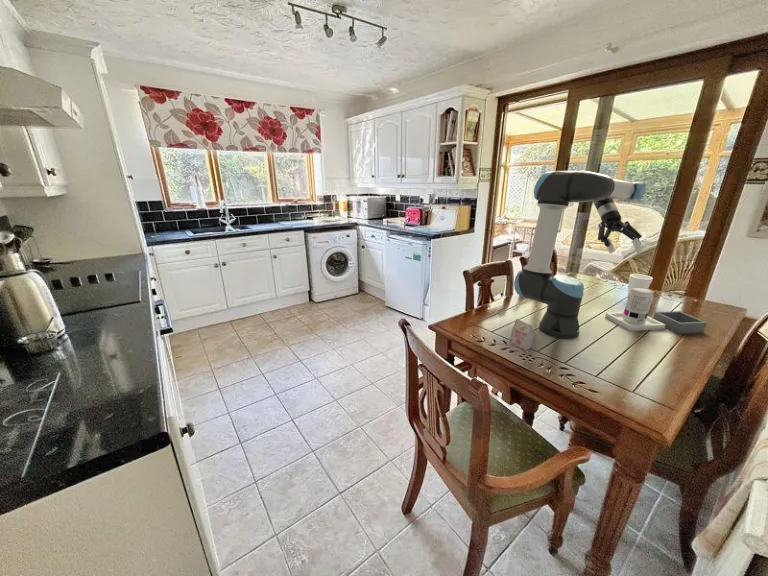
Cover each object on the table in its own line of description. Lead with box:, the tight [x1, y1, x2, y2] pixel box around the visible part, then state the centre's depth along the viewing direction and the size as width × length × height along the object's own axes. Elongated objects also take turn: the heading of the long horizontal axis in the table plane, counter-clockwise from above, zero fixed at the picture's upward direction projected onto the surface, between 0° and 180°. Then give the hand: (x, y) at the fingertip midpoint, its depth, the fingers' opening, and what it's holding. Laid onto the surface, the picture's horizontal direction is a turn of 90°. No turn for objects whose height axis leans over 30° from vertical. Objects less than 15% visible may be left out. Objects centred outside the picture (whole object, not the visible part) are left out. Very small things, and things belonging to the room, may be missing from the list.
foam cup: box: [626, 273, 654, 299], centre depth 165 cm, size 10×9×13 cm
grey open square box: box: [652, 310, 708, 334], centre depth 136 cm, size 12×12×4 cm
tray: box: [604, 311, 665, 332], centre depth 140 cm, size 16×14×2 cm
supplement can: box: [623, 287, 654, 325], centre depth 138 cm, size 8×8×15 cm
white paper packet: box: [509, 318, 534, 351], centre depth 121 cm, size 4×7×10 cm, turn 30°
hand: (626, 251), depth 143 cm, fingers open, 13 cm apart
